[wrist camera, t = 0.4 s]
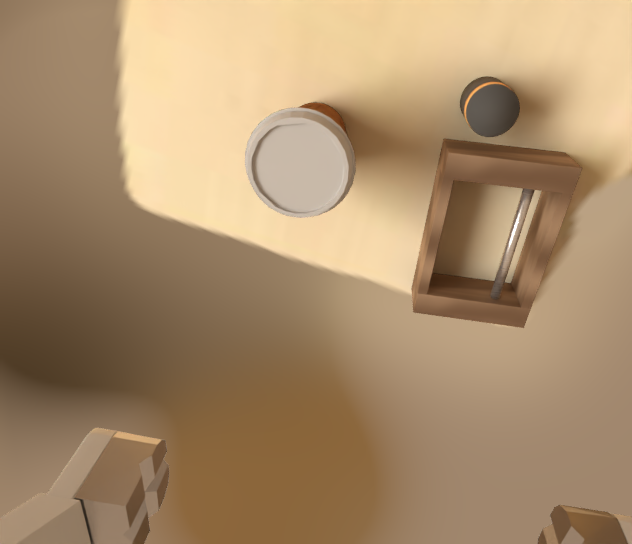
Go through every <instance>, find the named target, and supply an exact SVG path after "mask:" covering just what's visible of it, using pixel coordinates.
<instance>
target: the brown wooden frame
mask: <svg viewBox="0 0 632 544" xmlns="http://www.w3.org/2000/svg"><path fill="white" fill-rule="evenodd" d="M581 170H582V168H581V167H580V166H579V165H578V164H577V163H576V162H575V161H574V160H573V159H572V158H570V157H569V156H568V155H567V154H566V153H563V152H555V151H546V150H537V149H529V148H520V147H511V146H503V145H494V144H485V143H476V142H468V141H459V140H450V139H443V144H442V149H441V154H440V158H439V163H438V168H437V172H436V177H435V182H434V186H433V191H432V196H431V200H430V205H429V210H428V214H427V219H426V224H425V229H424V233H423V238H422V243H421V247H420V252H419V257H418V261H417V266H416V271H415V275H414V280H413V285H412V300H413V312H415V313H422V314H429V315H436V316H443V317H451V318H458V319H465V320H472V321H479V322H486V323H493V324H500V325H507V326H515V327H522V328H524V326H525V323H526V320H527V317H528V315H529V312H530V309H531V307H532V304H533V301H534V298H535V296H536V293H537V290H538V288H539V285H540V282H541V279H542V277H543V274H544V271H545V268H546V266H547V263H548V260H549V258H550V255H551V252H552V249H553V247H554V244H555V241H556V239H557V236H558V233H559V230H560V228H561V225H562V222H563V219H564V217H565V214H566V211H567V209H568V206H569V203H570V200H571V198H572V195H573V192H574V189H575V187H576V184H577V181H578V179H579V176H580V173H581ZM454 180H459V181H467V182H475V183H483V184H492V185H500V186H508V187H517V188H525V189H533V190H541V191H542V192H541V195H540V198H539V201H538V204H537V207H536V210H535V213H534V216H533V219H532V222H531V225H530V228H529V231H528V234H527V237H526V240H525V243H524V246H523V249H522V252H521V255H520V258H519V261H518V264H517V267H516V270H515V273H514V276H513V279H512V282H511V284H510V283H504V285H503V289H502V292H501V295H500V298H499V299H493V298H491V297H490V294H491V291H492V288H493V284H494V281H488V280H481V279H473V278H466V277H458V276H451V275H443V274H436V273H432V271H433V267H434V262H435V258H436V254H437V249H438V245H439V241H440V237H441V232H442V228H443V224H444V219H445V215H446V211H447V207H448V202H449V198H450V194H451V189H452V185H453V181H454Z"/></svg>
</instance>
